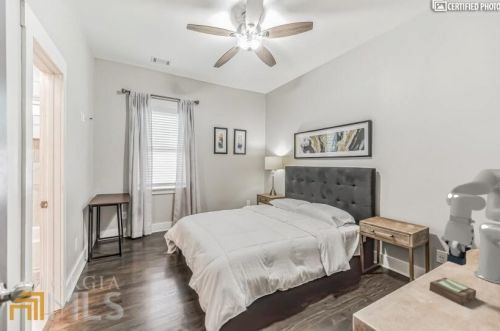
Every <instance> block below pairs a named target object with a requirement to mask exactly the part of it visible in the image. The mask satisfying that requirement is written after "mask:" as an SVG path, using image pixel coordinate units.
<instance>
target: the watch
mask: <svg viewBox="0 0 500 331" xmlns="http://www.w3.org/2000/svg"><path fill="white" fill-rule="evenodd" d="M458 243H459V242H456V241H452V244H451V253H452V255H454V256H452V255H449V253H448V254H447V256H446V258H447V260H446V261H447V262H450V263H453V264H457V265H459V266H465V265H467V257H466V258H460V251H461V250H462V247H461V244H458Z"/></svg>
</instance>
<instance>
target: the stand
mask: <svg viewBox="0 0 500 331" xmlns="http://www.w3.org/2000/svg"><path fill="white" fill-rule="evenodd" d="M429 291H431V292H433V293H434V294H436V295H439V296H441V297H442V298H445V299H447V300H449V301H451V302H454V303H456V304H458V305H460V306H463V305H464V304H466V303H469V302H472V301H474V300H476V296H477V290H476V289H475V288H471V287H469V286H467V285H464V284H462V283H459V282H457V281H455V280H452V279H450V278H447V277H443V278H439V279H436V280H433V281H430V282H429Z"/></svg>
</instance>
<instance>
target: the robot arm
mask: <svg viewBox="0 0 500 331" xmlns="http://www.w3.org/2000/svg"><path fill="white" fill-rule="evenodd" d="M484 195H486V199H485V198H484V197H482V196H484ZM445 201H446V204H447V205H448V206H450V211H449V220H447V221H446V225H445V229H444V234H443V236H442V237H441V238H440V240H442V241H443V242H444V243H445V245H447V247H448V254H449V255H452V253H451V244H452V241H456V242H459V243H458V244H461V247H462V250H461V251H460V258H466V259H467V252H469V251H472V250H477V249H478V247H477V245H476V243H475V227H474V225H473V224H475V223H476V221H475V220H473V218H472V212H473V211H476V212H477V211H483V210H484V209H485V213H484V214H485V218H487V219H488V220H490V221H494V222H497V223H494V222H482V223H480V224H479V226H478V233H479V253H478V266H477V270H474V271H473V274H474V275H475V276H476V277H477V278H480V279H481V280H484V281H487V282H490V283H493V284H494V283H495V284H498V285H500V224H499V223H500V168H484V169H483V170H480V171H479V172H478V174H477V175H476V176H475V177H474V178H473V179H472V180H471V181H469V182H466V183H462V184H458V185H456V186H455V187H453V188H452V189H451V190H450V191H449V193H448V194H447V195H446V199H445ZM498 222H499V223H498ZM452 256H454V255H452Z"/></svg>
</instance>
